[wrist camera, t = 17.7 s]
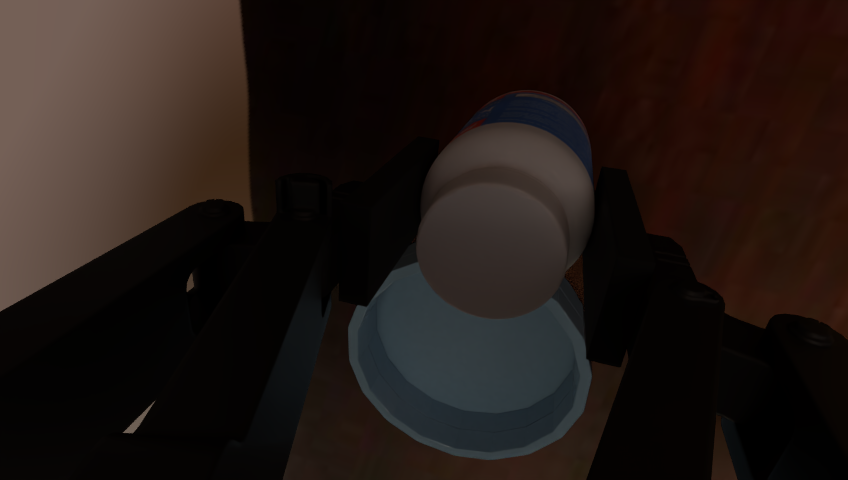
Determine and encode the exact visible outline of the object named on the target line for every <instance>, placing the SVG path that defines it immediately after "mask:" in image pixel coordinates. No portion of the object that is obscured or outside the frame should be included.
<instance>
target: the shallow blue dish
mask: <svg viewBox="0 0 848 480" xmlns="http://www.w3.org/2000/svg"><path fill="white" fill-rule="evenodd" d="M348 339H349V361H350V364H351V366H352V368H353V371H354V373H355V376H356V378H357V380H358V383H359V385H360V387H361V390H362V392H363V393H364V394H365V395H366V397H367V398H368V399H369V400H370V401H371V402H372V404H373V405H374V406H375V407H376V408H377V410H378V411H379V412H380V413H381V414H382V415H383V417H384V418H385V419H387V421H389V422H390V423H392V424H393V425H394V426H396V427H397V428H399V429H400V430H402V431H403V432H405V433H406V434H407V435H409V436H410V437H412V438H413V439H415V440H416V441H418V442H420V443H423V444H426V445H428V446H431V447H433V448H436V449H439V450H441V451H444V452H446V453H449V454H452V455H454V456H462V457H470V458H478V459H487V460H495V459H502V458H508V457H515V456H521V455H528V454H531V453H533V452H535V451H537V450H539V449H541V448H543V447H545V446H547V445H548V444H550V443H552V442H554V441H556V440H558V439H560V438H562V437H563V436H564V434H565V433H566V432H567V431H568V430H569V429H570V427H571V426H572V425H573V424H574V423H575V421H576V420H577V419H578V418H579V417H580V415H581V414H582V413H583V412H584V409H585V405H586V401H587V396H588V392H589V388H590V384H591V380H592V362H591V360H586V340H585V313H584V308H583V305H582V303H581V302H580V300H579V298H578V296H577V294H576V293H575V291H574V289H573V288H572V286H571V285H570V283H569V282H568V281H567V280H566V278H565V277H564V278H563V280H562V282H561V284H560V286H559V288H558V289H557V291H556V292H555V293H554V295H553V296H552V297H551V298H550V299H549V300H548V301H547V302H546V303H545V304H543V305H542V306H540V307H539V308H537V309H535V310H534V311H532V312H530V313H528V314H525V315H522V316H519V317H514V318H509V319H486V318H480V317H476V316H473V315H469V314H467V313H464V312H462V311H460V310H458V309H456V308H454V307H453V306H451V305H449V304H448V303H446V302H445V301H444V300H443V299H442V298H440V297H439V296H438V295H437V294H436V293H435V292H434V290H433V289H432V288H431V287H430V285H429V284H428V283H427V281H426V279H425V278H424V276H423V274H422V271H421V269H420V266H419V263H418V259H417V254H416V242H414V243H412V244H411V245H409V246H408V248H407V249H406V251H405V252H404V254H403V255H402V256H401V258H400V259H399V261H398V262H397V264H396V265H395V267H394V268H393V270H392V271H391V272H390V274H389V275H388V277H387V278H386V280H385V281H384V283H383V284H382V286H381V287H380V289H379V290H378V291H377V293H376V294H375V296H374V297H373V299H372V300H371V302H370V303H369V305H368V306H367V307H364V306H360V305H357V307H356V309H355V311H354V314H353V316H352V319H351V321H350V324H349V326H348Z"/></svg>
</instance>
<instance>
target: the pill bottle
mask: <svg viewBox="0 0 848 480" xmlns="http://www.w3.org/2000/svg"><path fill="white" fill-rule="evenodd" d="M420 214H421V223H420V225H419V228H418V232H417V238H416V254H417V259H418V263H419V266H420V269H421V271H422V274H423V276H424V278H425V279H426V281H427V283H428V284H429V285H430V287H431V288H432V289H433V290H434V292H435V293H436V294H437V295H438V296H439V297H440V298H442V299H443V300H444V301H445V302H446V303H448V304H449V305H451V306H453V307H454V308H456V309H458V310H460V311H462V312H464V313H467V314H469V315H473V316H476V317H480V318H486V319H509V318H514V317H519V316H522V315H525V314H528V313H530V312H532V311H534V310H535V309H537V308H539V307H540V306H542V305H543V304H545V303H546V302H547V301H548V300H549V299H550V298H551V297H552V296H553V295H554V293H555V292H556V291H557V289H558V288H559V286H560V284H561V282H562V280H563V278H564V276H565V272H566V271H567V270H568V269H569V268H570V267H571V266H572V265H573V264H574V263H575V262H576V261H577V259H578V258H579V257H580V255H581V254H582V252H583V251H584V249H585V247H586V245H587V243H588V241H589V239H590V236H591V233H592V229H593V225H594V218H595V193H594V182H593V169H592V156H591V145H590V140H589V136H588V133H587V130H586V128H585V126H584V124H583V122H582V121H581V119H580V117H579V116H578V115H577V113H576V112H575V111H574V110H573V109H572V108H571V107H570V106H569V105H568V104H566V103H565V102H564V101H562V100H561V99H559V98H557V97H555V96H553V95H551V94H548V93H544V92H541V91H535V90H520V91H513V92H509V93H506V94H503V95H500V96H498V97H496V98H494V99H493V100H491V101H489V102H488V103H487V104H485V105H484V106H483V107H481V108H480V109H479V110H478V111H477V112H476V113H475V114H474V116H473V117H472V118H471V119H470V120H469V121H468V123H467V124H466V125H465V126H464V127H463V128H462V129H461V130H460V131H459V133H458V134H457V135H456V136H455V137H454V138H453V140H452V141H451V142H450V143H449V144H448V145H447V146H446V147H445V148H444V149H443V151H442V152H441V153H440V154H439V156H438V157H437V158H436V160H435V161H434V163H433V164H432V166H431V168H430V169H429V171H428V173H427V175H426V178H425V180H424V184H423V187H422V192H421V199H420Z"/></svg>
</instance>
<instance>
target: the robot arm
mask: <svg viewBox="0 0 848 480" xmlns="http://www.w3.org/2000/svg"><path fill="white" fill-rule="evenodd" d="M438 147H439V140H436V139H429V138H423V137H417V138H416V139H415V140H414V141H412V142H411V143H410V144H409V145H408V146H406V147H405V148H404V149H403V150H402V151H401V152H399V153H398V154H397V155H396V156H395V157H393V158H392V159H391V160H390V161H389V162H387V163H386V164H385V165H384V166H383V167H382V168H380V169H379V170H378V171H377V172H376V173H374V174H373V175H372V176H371V177H370V178H368V179H367V180H366V181H365V182H359V181H350V182H347V183H344V184H341V185H339V186H338V187H337V188H335V189H334V190H333V191H332V181H331V180H330V179H328V178H327V177H324V176H321V175H317V174H310V173H296V174H288V175H285V176H281V177H279V178H278V179H277V180H275V182H276V203H277V213H276V215H275V216H274V218H273V219H272V221H271V222H252V221H244V210H243V207H242V206H241V205H240V204H238V203H235V202H232V201H223V200H222V199H216V200H214V199H212V200H207V201H206V202H200V203H197V204H194V205H192V206H189V207H188V208H186V209H184V210H182V211H180V212H179V213H177V214H175V215H173V216H171V217H170V218H168V219H166V220H164V221H163V222H161V223H159V224H157V225H155V226H153V227H152V228H150V229H148V230H146V231H144V232H143V233H141V234H139V235H137V236H136V237H134V238H132V239H130V240H128V241H126V242H125V243H123V244H121V245H119V246H117V247H116V248H114V249H112V250H110V251H108V252H107V253H105V254H103V255H102V256H99V257H98V258H96V259H94V260H92V261H91V262H89V263H87V264H85V265H83V266H81V267H80V268H78V269H76V270H74V271H72V272H71V273H69V274H67V275H65V276H64V277H62V278H60V279H58V280H56V281H55V282H53V283H51V284H49V285H47V286H46V287H44V288H42V289H40V290H38V291H37V292H35V293H33V294H32V295H29V296H28V297H26V298H24V299H22V300H20V301H18V302H17V303H15V304H13V305H11V306H10V307H8V308H6V309H4V310H2V311H1V312H0V480H283V476H284V472H285V469H286V465H287V462H288V458H289V455H290V451H291V448H292V444H293V440H294V437H295V433H296V430H297V426H298V423H299V419H300V416H301V412H302V408H303V405H304V401H305V398H306V394H307V391H308V387H309V384H310V380H311V376H312V373H313V369H314V366H315V362H316V359H317V355H318V352H319V348H320V344H321V341H322V337H323V334H324V330H325V327H326V323H327V320H328V316H329V312H330V309H331V291H332V290H333V288H334V287H335V286H336V285H337V284H338V283H339V301H343V302H347V303H351V304H355V305H360V306H364V307H367V306H368V305H369V303H370V302H371V300H372V299H373V297H374V296H375V294H376V293H377V291H378V290H379V289H380V287H381V286H382V284H383V283H384V281H385V280H386V278H387V277H388V275H389V274H390V272H391V271H392V270H393V268H394V267H395V265H396V264H397V262H398V261H399V259H400V258H401V256H402V255H403V254H404V252H405V251H406V249H407V248H408V246H409V245H410V243H411V242H412V240H413V239H414V237H415V236H416V235H417V232H418V228H419V225H420V223H421V214H420V199H421V192H422V187H423V184H424V180H425V178H426V175H427V173H428V171H429V169H430V168H431V166H432V164H433V163H434V161H435V160H436V158H437V156H438ZM582 254H583V283H584V312H585V340H586V360H591V361H595V362H599V363H603V364H607V365H612V366H616V367H621V364H622V361H623V358H624V355H625V352H626V349H627V351H628V358H629V360H628V363H627V366H626V369H625V372H624V375H623V377H622V380H621V383H620V386H619V389H618V392H617V394H616V397H615V400H614V403H613V406H612V409H611V411H610V414H609V417H608V420H607V423H606V426H605V428H604V431H603V434H602V437H601V440H600V443H599V445H598V448H597V451H596V454H595V457H594V460H593V462H592V465H591V468H590V471H589V474H588V477H587V479H586V480H711V474H712V461H713V449H714V436H715V424H716V414H717V415H719V416H721V417H722V418H721V426H722V430H723V433H724V436H725V439H726V443H727V446H728V449H729V452H730V456H731V459H732V462H733V466H734V469H735V472H736V475H737V479H738V480H848V340H847V339H846V338H845V337H844V336H842V335H841V334H839V333H838V332H836V331H835V330H833V329H831V327H830V326H828V325H826V324H824V323H822V322H820V323H819V321H818V320H815V319H812V318H805V317H801V316H798V315H790V314H778V315H774V316H773V317H772V318H771V319H770V320H769V322H768V324H767V326H766V329H763V328H760V327H757V326H755V325H752V324H749V323H746V322H744V321H741V320H739V319H736V318H734V317H731V316H729V315H727V314H725V313H724V311H725V303H724V300H723V298H722V297H721V296H720V295H719V294H718V293H717V292H716V291H715V290H713V289H711V288H710V287H708V286H706V285H704V284H702V283H699V282H697V280H696V277H695V275H694V273H693V271H692V268H691V267H690V264H689V262H688V259H686V255H685V253H684V251H683V248H682V247H681V246H680V245H679V244H677V243H676V242H675V241H674V240H672V239H671V238H669V237H664V236H658V235H653V234H648V233H646V231H645V228H644V224H643V221H642V218H641V215H640V212H639V209H638V206H637V202H636V199H635V196H634V193H633V190H632V187H631V184H630V181H629V177H628V174H627V171H626V170H621V169H614V168H608V167H602V168H601V171H600V175H599V179H598V183H597V187H596V190H595V218H594V225H593V229H592V233H591V236H590V239H589V241H588V243H587V245H586V247H585V249H584V251H583V252H582ZM191 273H192V274H193V281H194V287H193V288H192V289H191V290H189V291H188V292H187V291H186V288H187V281H188V279H189V276H190V274H191ZM155 400H156V401H155ZM154 401H155V402H154ZM153 402H154V404H153V405H152V407H151V408H150V410H149V412H148V413H147V415H146V416H145V418H144V419H143V421H142V422H141V424H140V426H139V427H138V428H137V429H136V430H135V432H134V433H123V432H124V431H125V430H126V429H127V428H128V427H129V426H130V425H131V424H132V423H133V422H134V421H135V420H136V419H137V418H138V417H139V416H140V415H141V414H142V413H143V412H144V411H145V410H146V409H147V408H148V407H149V406H150V405H151V404H152V403H153Z"/></svg>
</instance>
